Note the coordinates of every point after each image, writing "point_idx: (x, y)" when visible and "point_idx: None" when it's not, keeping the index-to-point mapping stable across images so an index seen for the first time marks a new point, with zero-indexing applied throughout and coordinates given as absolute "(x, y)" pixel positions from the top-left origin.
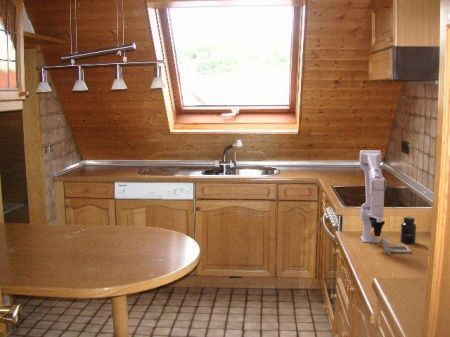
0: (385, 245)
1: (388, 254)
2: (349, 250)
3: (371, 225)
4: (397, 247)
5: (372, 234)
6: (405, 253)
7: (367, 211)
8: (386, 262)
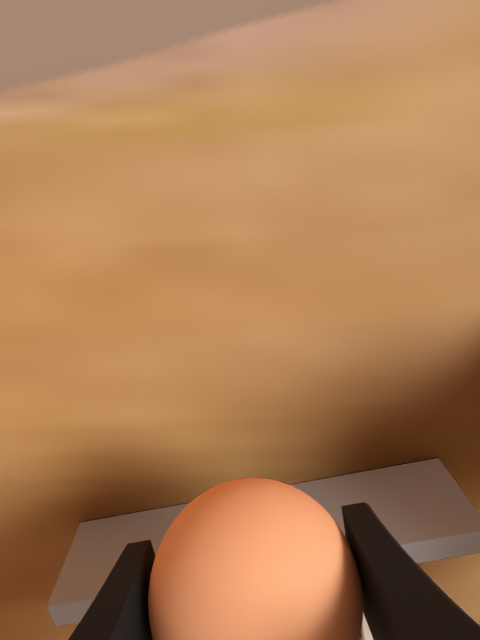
0: None
1: (79, 527)
2: (88, 110)
3: (435, 598)
4: None
5: (180, 514)
6: None
7: None
8: None
